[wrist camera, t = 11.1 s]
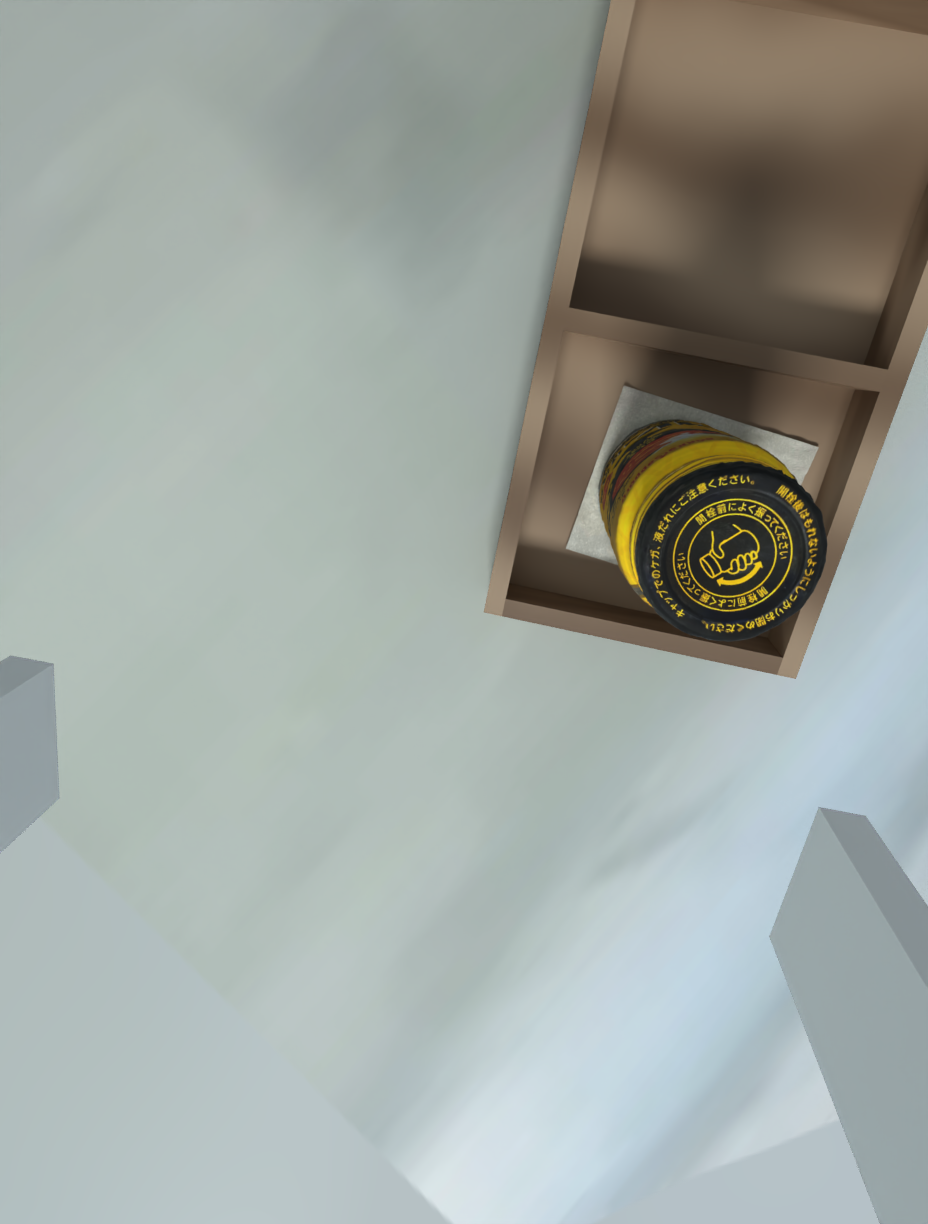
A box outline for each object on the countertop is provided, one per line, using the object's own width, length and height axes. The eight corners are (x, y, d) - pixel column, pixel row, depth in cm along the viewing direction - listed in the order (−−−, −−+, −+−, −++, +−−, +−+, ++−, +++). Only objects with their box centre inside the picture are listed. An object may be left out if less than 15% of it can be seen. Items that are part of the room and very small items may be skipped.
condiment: (622, 385, 31) (665, 400, 20) (817, 446, 31) (972, 498, 20) (565, 547, 33) (573, 644, 22) (745, 604, 33) (845, 730, 22)
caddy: (620, -39, 27) (628, -85, 24) (999, 28, 26) (1053, -12, 23) (488, 591, 35) (483, 612, 32) (775, 652, 34) (795, 678, 32)
